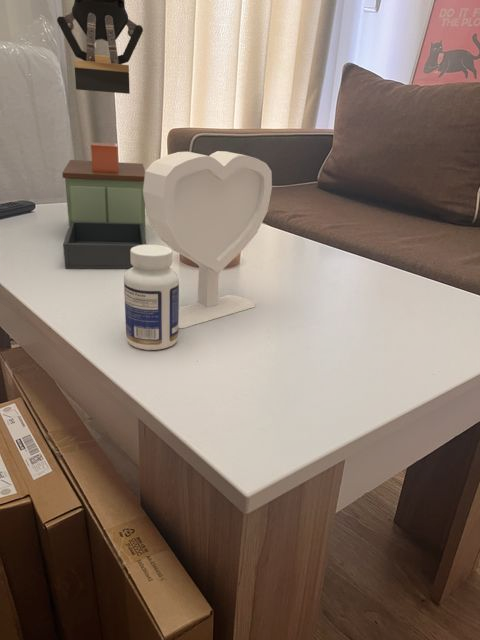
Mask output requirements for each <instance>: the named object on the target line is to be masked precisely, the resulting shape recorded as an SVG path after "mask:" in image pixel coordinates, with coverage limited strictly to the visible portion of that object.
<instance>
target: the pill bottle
mask: <svg viewBox="0 0 480 640" xmlns="http://www.w3.org/2000/svg"><path fill="white" fill-rule="evenodd" d="M130 256H131V264H132V265H133V267H132V268H130V269H127V270H126V272H125V274H124V275H123V293H124V317H125V319H124V320H125V335H126V337H125V338H126V341H127V343H128V344H130V345H131V346H132V347H134V348H137V349H139V350H145V351H146V350H147V351H156V350H157V351H159V350H162V349H163V350H164V349H166V348H170V347H172V346H174V345H175V344H176V343H177V342H178V340H179V333H180V331H179V329H180V328H179V308H180V307H179V306H180V277H179V274H178V273H177V271H176V270H175V269H173V268H171V266H172V265H173V249H172V248H170V247H169V246H165V245H161V244H147V245H138V246H135V247H133V248H131V250H130Z"/></svg>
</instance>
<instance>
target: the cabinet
mask: <svg viewBox="0 0 480 640" xmlns="http://www.w3.org/2000/svg"><path fill="white" fill-rule="evenodd" d="M118 168H119V173H112V172H93V171H92V160H84V159H83V160H82V159H70V160H69V161H68V162H67V164H66V166H65V168H64V169H63V171H62V178H63V179H64V181H65V182H64V183H65V195H66V204H67V205H66V208H67V218H68V220H67V221H68V226H69V225H70V222H71V221H72V222H110V223H143V226H144V232H145V237H146V238H147V236H146V235H147V233H146V208H145V202H144V195H143V187H144V178H145V171H146V169H145V166H144V164H143V163H140V162H139V163H138V162H136V163H135V162H120V161H118Z"/></svg>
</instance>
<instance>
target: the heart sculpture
mask: <svg viewBox="0 0 480 640" xmlns="http://www.w3.org/2000/svg"><path fill="white" fill-rule="evenodd" d="M272 172H273V171H272V170H271V168H270V167H269V165H268V164H267V163H266V162H265V161H263V160H261V159H259V158H257V157H253V156H250V155H246V154H240V153H235V152H231V151H226V150H225V151H222V150H221V151H220V150H217V151H215V152H213V153H211V154H210V155H206V154H202V153H196V152H193V151H177V152H174V153H170V154H166V155H164V156H162V157H160V158H158V159H156V160H153V162H152V163H151V164H150V165H149V166H148V167H147V168H146V169H145V178H144V187H143V195H144V202H145V216H146V218H147V220H148V221H149V223H150V225H151V226H152V229H153V230H154V232H155V234H156V235H157V237H158V239H159V240H161V242H163V243H164V244H165V245H167V247H168V248H170V249H171V250H172V251H174V252H176V253H177V254H179V255H181V256H183V257H184V258H187V260H190V261H192V262H193V263H195V264H196V265H198V282H197V283H198V284H197V285H198V286H197V287H198V288H197V302H196V303H192V304H188V305H184V306H180V307H179V329H185V328H188V327H192V326H195V325H198V324H201V323H205V322H209V321H212V320H215V319H219V318H222V317H226V316H229V315H232V314H236V313H239V312H243V311H245V310H249V309H252V308H256V305H255V304H254V303H253V302H252V301H251V300H250V299H248V298H245V297H243V296H237V295H232V294H226V295H223V296H219V279H220V274H221V272H223V271H224V269H225V268H226V267H227V266H228V265H229V264H230V263H231V262H232V261H233V260H234V259H235V258H236V257H237V256H239V254H241V253H242V251H244V250H245V248H247V246H248V245H249V244H250V242H251V241H252V240H253V238H254V237H255V236H256V235H257V233H258V232H259V230H260V228H261V225H262V223H263V222H264V220H265V218H266V215H267V213H268V212H269V205H270V202H271V201H270V200H271V196H272V191H273V182H272V181H273V178H272V177H273V176H272V174H273V173H272Z"/></svg>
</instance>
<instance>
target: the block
mask: <svg viewBox="0 0 480 640" xmlns="http://www.w3.org/2000/svg"><path fill="white" fill-rule="evenodd" d="M90 151H91V154H90V155H91V161H92V171H93V172H112V173H119V168H118V162H119V145H118V143H112V142H97V141H92V142H91V144H90Z"/></svg>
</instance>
